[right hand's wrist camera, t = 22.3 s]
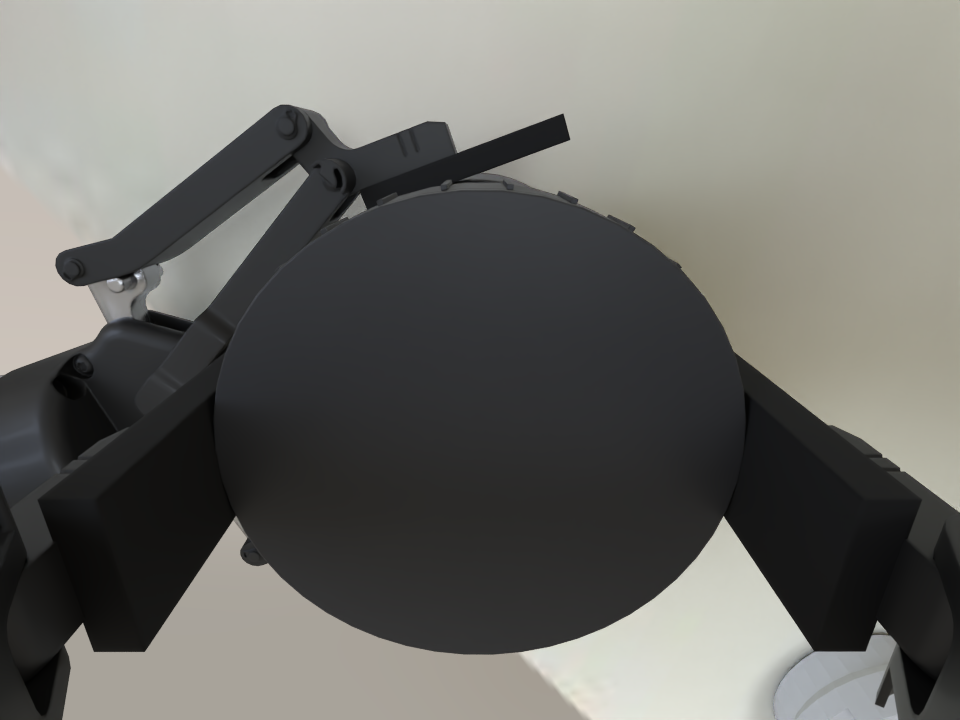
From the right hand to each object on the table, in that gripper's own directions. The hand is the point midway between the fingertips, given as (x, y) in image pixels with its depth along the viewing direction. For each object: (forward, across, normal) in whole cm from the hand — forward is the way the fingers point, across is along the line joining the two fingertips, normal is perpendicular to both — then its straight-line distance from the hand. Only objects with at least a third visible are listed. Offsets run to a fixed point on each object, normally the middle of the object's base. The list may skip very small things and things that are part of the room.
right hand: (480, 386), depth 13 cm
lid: (-3, 0, 0) cm, 3 cm away
